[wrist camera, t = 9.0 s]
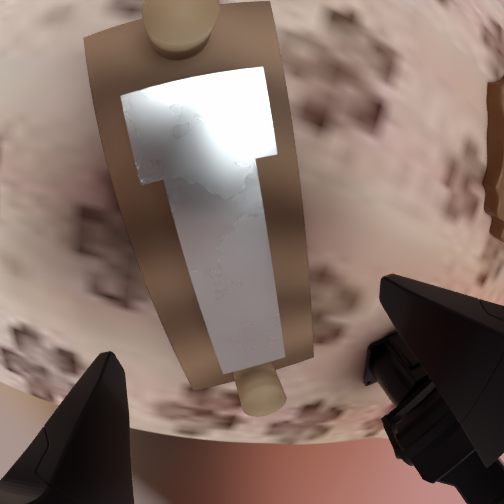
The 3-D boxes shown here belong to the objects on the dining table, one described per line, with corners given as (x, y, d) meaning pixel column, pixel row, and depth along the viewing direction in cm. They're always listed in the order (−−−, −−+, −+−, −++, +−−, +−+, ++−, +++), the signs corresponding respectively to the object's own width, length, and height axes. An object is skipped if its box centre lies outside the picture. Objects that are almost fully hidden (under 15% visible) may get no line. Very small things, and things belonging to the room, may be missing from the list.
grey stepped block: (285, 324, 21) (300, 352, 18) (202, 346, 20) (207, 378, 17) (247, 76, 13) (262, 66, 11) (131, 100, 13) (120, 95, 10)
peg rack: (307, 345, 24) (333, 392, 19) (191, 377, 23) (199, 431, 18) (262, 9, 13) (296, -28, 8) (91, 43, 12) (57, 16, 7)
